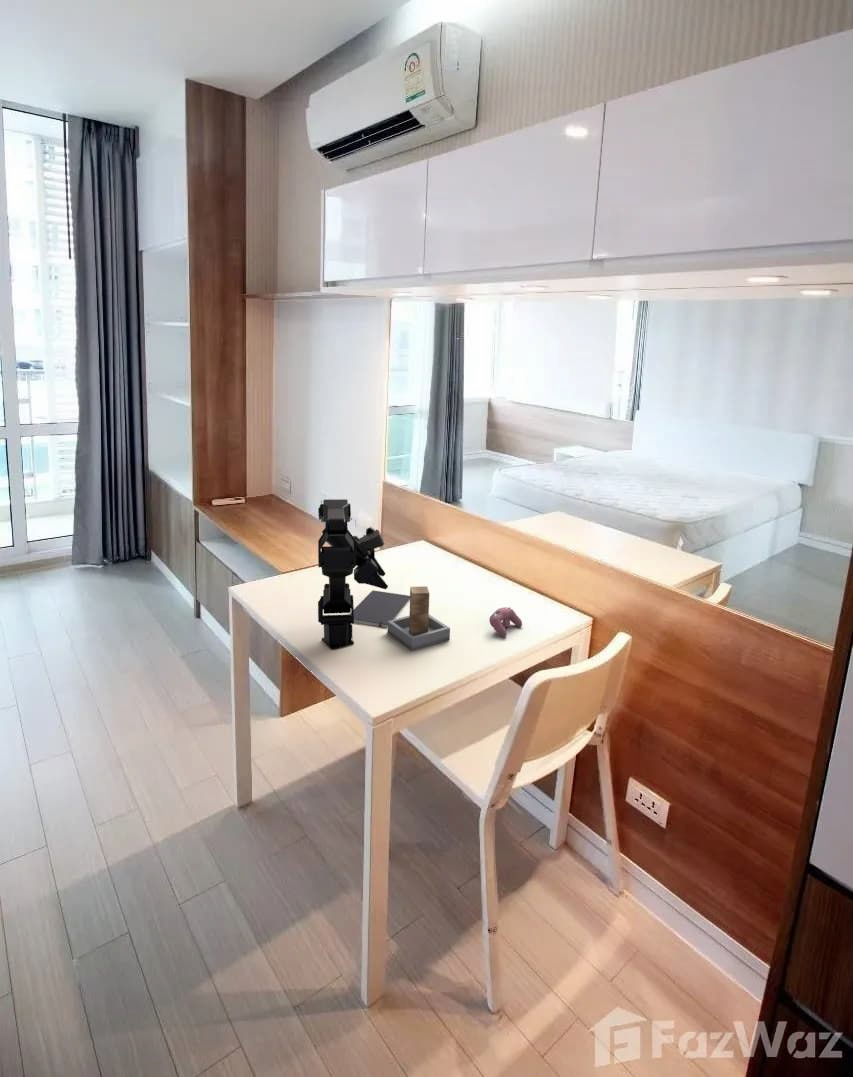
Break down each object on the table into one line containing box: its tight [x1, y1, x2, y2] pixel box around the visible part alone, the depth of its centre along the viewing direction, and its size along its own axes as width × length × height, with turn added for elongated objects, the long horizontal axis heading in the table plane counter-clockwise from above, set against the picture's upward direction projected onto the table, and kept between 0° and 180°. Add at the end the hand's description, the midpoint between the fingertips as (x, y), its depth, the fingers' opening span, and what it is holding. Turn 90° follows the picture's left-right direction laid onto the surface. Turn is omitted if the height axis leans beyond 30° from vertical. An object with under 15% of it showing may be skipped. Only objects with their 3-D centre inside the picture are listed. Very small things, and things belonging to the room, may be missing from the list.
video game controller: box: [489, 606, 523, 638], centre depth 180 cm, size 10×5×7 cm, turn 142°
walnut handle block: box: [408, 585, 430, 636], centre depth 172 cm, size 4×4×12 cm
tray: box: [387, 614, 451, 652], centre depth 174 cm, size 12×12×4 cm
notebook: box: [349, 590, 410, 628], centre depth 190 cm, size 13×2×21 cm
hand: (385, 581), depth 175 cm, fingers open, 9 cm apart
